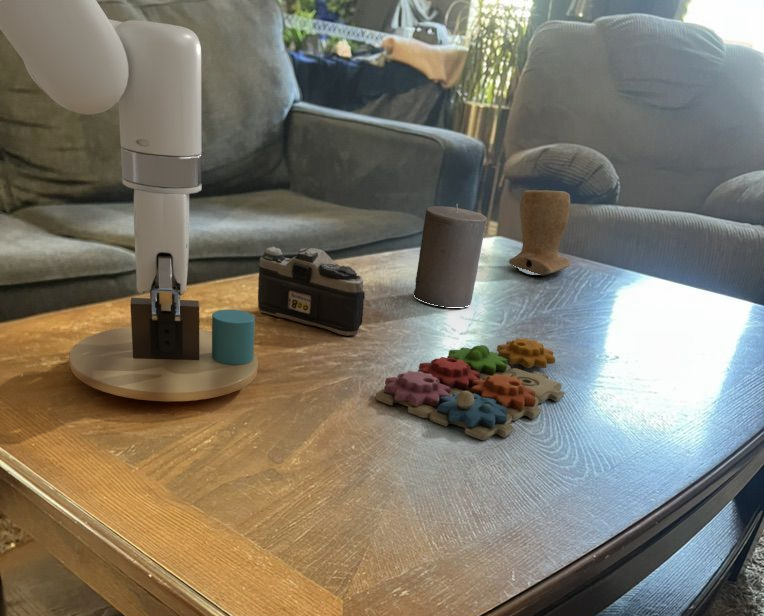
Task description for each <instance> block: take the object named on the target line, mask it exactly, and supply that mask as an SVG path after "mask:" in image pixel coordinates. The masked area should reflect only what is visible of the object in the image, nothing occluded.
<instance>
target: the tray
mask: <svg viewBox="0 0 764 616" xmlns="http://www.w3.org/2000/svg"><path fill="white" fill-rule="evenodd" d="M157 313H158V311H157ZM174 314H175V310H174ZM150 318H152V298H148V297H130V320H131V321H130V326H125V327H117V328H113V329H108V330H103V331H100V332H97V333H94V334H91V335H88V336H86V337H85V338H83V339H81V340H79V341H77V342H76V343H75V344H74V345H73V347H72V348H71V349H70V351H69V354H68V355H69V358H68V359H69V368H70V371H71V372H72V374H73V375H74V376H75V377H76V378H77V379H78V380H79V381H81V382H82V383H84V384H85V385H87V386H89V387H90V388H91V387H92V388H93V389H95V390H98V391H101V392H104V393H107V394H111V395H114V396H118V397H122V398H128V399H134V400H142V401H153V402H189V401H199V400H200V401H201V400H208V399H212V398H218V397H221V396H226V395H229V394H231V393H234V392H237V391H239V390H241V389H243V388H245V387H247V386H248V385H250V384H251V383H252V382H253V381H254V380H255V379H256V377H257V375H258V370H259V360H258V356H257V355H256V353H255V352H254V353H253V360H252V361H251V362H250V363H247V364H242V365H229V364H223V363H220V362H217V361H215V360H214V359H213V358H212V330H207V329H201V328H200V302H199V300H195V299H193V300H192V299H180V319H182V326H183V356H182V357H179V358H178V357H153V356H152V355H151V342H150ZM157 318H158V316H157ZM174 318H175V317H174Z"/></svg>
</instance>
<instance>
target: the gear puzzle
mask: <svg viewBox="0 0 764 616" xmlns="http://www.w3.org/2000/svg"><path fill="white" fill-rule="evenodd" d="M555 363H556V357H555V356H554V350H550V349H549V348H548V349H547V348H545V347H544V343H542V342H538V341H537V340H536V339H529V338H519V337H518V338H516V339H512V340H511V341H510V340H509V341H506V343H503V344H498V345H497V347H496V352H494V351H490V349H489V347H488V346H486V345H484V344H480V345H474V346H473V347H472V348H469V347H460V349H450V350H449V351H448V355H447V356H446V357H445V356H441V357H439V358H434V359H432V360H431V361H430V362H420V363H419V364H418V370H417V371H413V370H408V371H406V372H402V373H398V375H397V376H393V377H392V376H391V377H386V378H385V381H384V387H383V389H381V390H378V391H376V393H375V397H374V398H375V400H376V401H378V402H381V403H383V404H385V405H388V406H391V407H392V406H393V405H394V404H400V405H403V406H405V407H407V412H408V413H409V414H411V415H414V416H416V417H419V418H423V419H429V420H430V422H432V423H436V424H438V425H440V426H443V427H448V426H449V424H450V425H451V424H452V425H455V426H458V427H460V428H463V429H464V434H465V435H466V436H470V437H473V438H474V439H477V440H481V441H486V440H488V439H489V438H491V437H493V436H494V435H498V436H500V437H502V438H507V437H508V436H510V435H511V434H513V433H514V429H515V426H513V425H512V424H511V423H512V422H514V421H517V420H519V419H520V418H522V417H524V416H525V417H527V418H529V419H531V420H534V419H535V418H537V417H539V416H540V415H541V413H542V408H541V407H539V406H538V405H539V404H542V403H544V402H545V401H547V400H552V401H554V402H555V403H557V402H559V401H560V400H562V399H564V396H565V391H563V390H562V386H563V384H562V383H561V382H559V381H556V380H553V379H550V376H549V375H547V374H545V373H542V372H539V371H535V370H533V371H532V372H529V371H525V370H522V369H519V368H516V367H515V368H514V367H513V368H511V366H510V365H521V366H522V367H524V368H527V369H530V368H532V367H538V368H541V369H546V368H547V365H553V364H555Z"/></svg>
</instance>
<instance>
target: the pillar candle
mask: <svg viewBox="0 0 764 616" xmlns="http://www.w3.org/2000/svg"><path fill="white" fill-rule="evenodd" d="M458 205H459V203H456V204H455V207H454V206H444V205H443V206H442V205H440V206H438V205H436V206H428V207H427V208H426V210H425V214H424V222H423V228H422V236H421V242H420V247H419V257H418V262H417V269H416V276H415V286H414V291H413V293H414V295H415V297H416V298H418V299H420V300H422V301H424V302H427V303H430V304H434V305H438V306H444V307H465V306H468V305H470V306H471V303H472V301H473V295H474V290H475V284H476V280H477V275H478V267H479V263H480V258H481V252H482V246H483V243H484V236H485V230H486V225H487V220H488V218H487V216H485V215H484V214H482V213H480V212H476V211H472V210H470V209H469V210H468V209H464V208H459V206H458Z"/></svg>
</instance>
